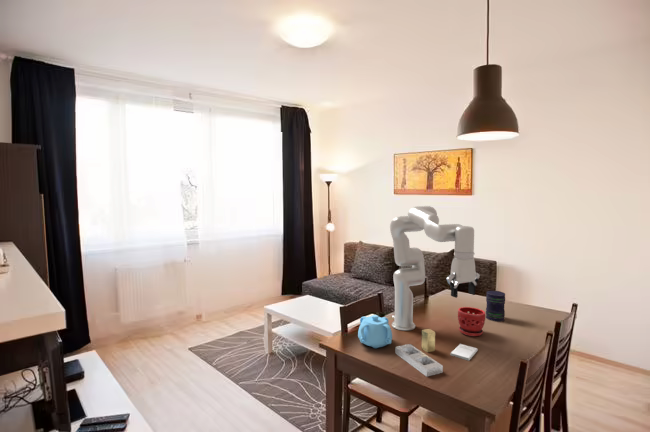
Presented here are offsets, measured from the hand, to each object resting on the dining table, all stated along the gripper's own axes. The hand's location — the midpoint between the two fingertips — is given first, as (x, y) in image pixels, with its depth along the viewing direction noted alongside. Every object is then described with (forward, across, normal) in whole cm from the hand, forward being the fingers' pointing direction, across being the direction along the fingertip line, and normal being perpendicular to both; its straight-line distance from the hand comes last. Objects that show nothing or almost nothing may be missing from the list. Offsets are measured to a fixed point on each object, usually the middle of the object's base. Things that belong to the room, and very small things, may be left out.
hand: (463, 295), depth 151 cm
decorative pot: (+30, +24, -32) cm, 50 cm away
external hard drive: (+30, -8, -6) cm, 32 cm away
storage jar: (+30, -56, -32) cm, 71 cm away
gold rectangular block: (+29, +5, -16) cm, 34 cm away
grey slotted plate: (+29, +17, -8) cm, 35 cm away
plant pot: (+30, -28, -22) cm, 46 cm away
